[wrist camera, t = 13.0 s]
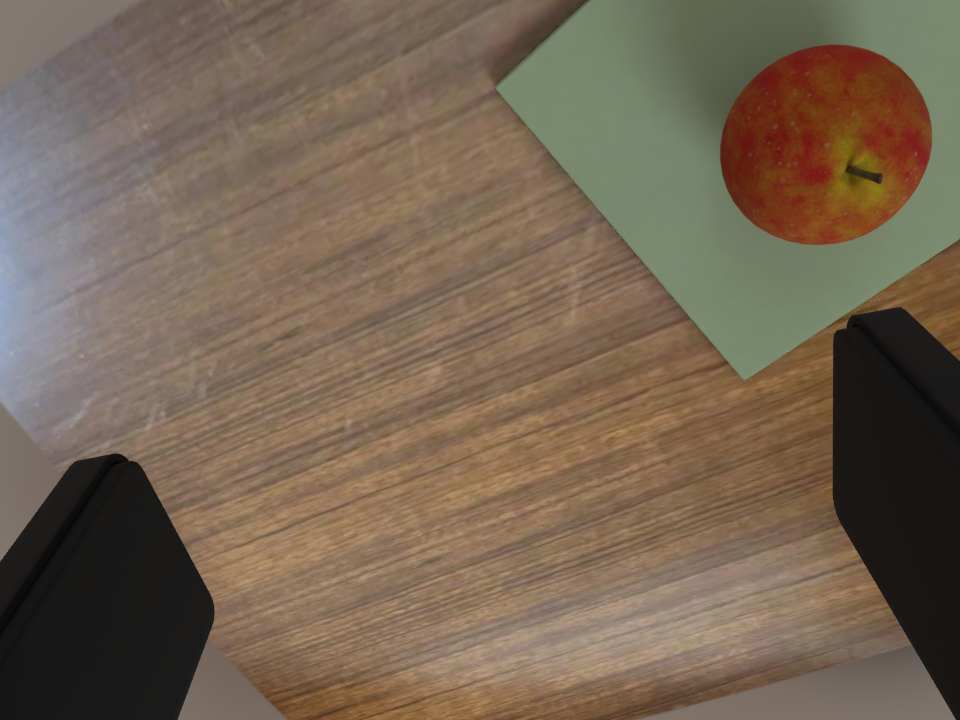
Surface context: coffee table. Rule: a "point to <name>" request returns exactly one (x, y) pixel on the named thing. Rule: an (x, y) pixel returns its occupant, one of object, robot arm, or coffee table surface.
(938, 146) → the mat
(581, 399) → the coffee table surface
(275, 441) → the coffee table surface
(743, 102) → the fruit
